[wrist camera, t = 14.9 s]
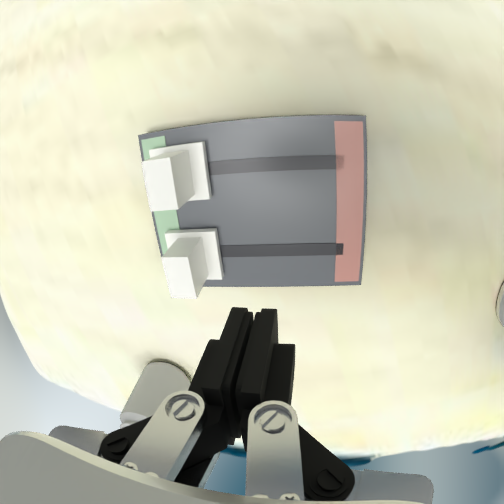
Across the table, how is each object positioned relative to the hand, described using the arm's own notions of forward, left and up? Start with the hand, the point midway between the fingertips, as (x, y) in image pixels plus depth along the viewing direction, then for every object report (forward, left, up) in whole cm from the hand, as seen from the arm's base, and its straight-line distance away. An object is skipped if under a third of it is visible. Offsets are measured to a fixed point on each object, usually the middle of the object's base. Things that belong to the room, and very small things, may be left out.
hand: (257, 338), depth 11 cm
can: (+18, +26, -19) cm, 37 cm away
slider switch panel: (+2, 0, -19) cm, 19 cm away
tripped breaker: (+8, -4, -17) cm, 19 cm away
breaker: (+8, +4, -17) cm, 19 cm away
